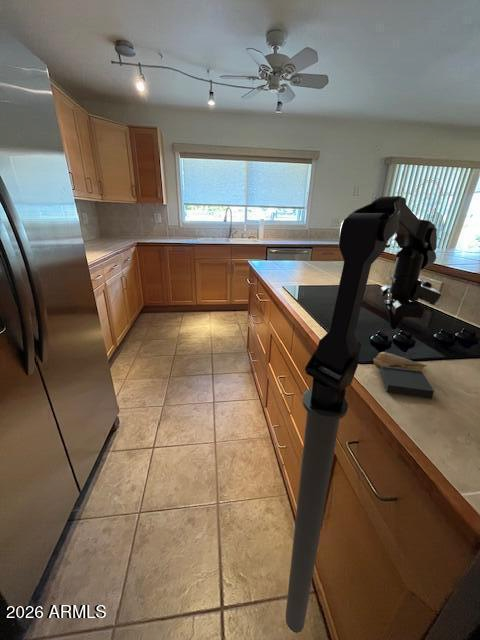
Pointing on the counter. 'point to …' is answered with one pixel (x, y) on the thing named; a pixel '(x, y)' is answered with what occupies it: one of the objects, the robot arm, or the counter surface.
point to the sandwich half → (396, 361)
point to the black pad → (406, 382)
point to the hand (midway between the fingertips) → (393, 328)
